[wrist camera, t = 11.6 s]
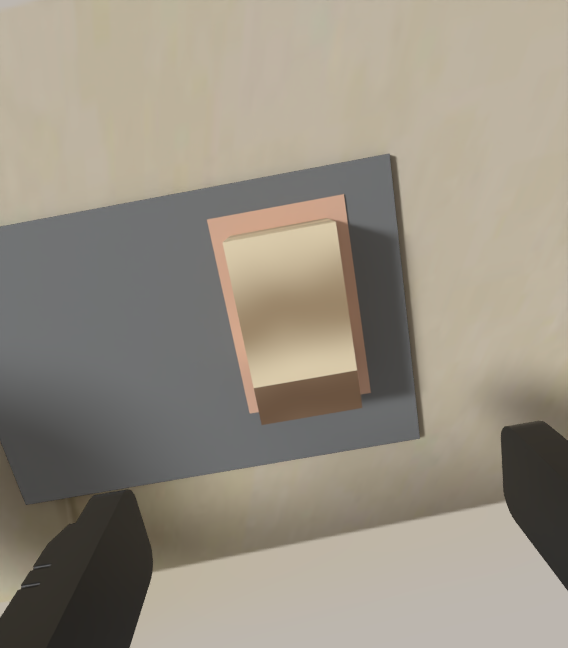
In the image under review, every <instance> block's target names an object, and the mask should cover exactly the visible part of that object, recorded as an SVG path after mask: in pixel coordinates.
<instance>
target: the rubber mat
mask: <svg viewBox="0 0 568 648" xmlns="http://www.w3.org/2000/svg"><path fill="white" fill-rule="evenodd" d="M323 218H328V219H331V220H333V221H335V222H336V227H337V234H338V241H339V248H340V255H341V262H342V269H343V276H344V283H345V289H346V296H347V303H348V310H349V317H350V324H351V331H352V338H353V345H354V352H355V359H356V366H357V373H358V380H359V387H360V394H361V401H362V408H359V409H353V410H348V411H342V412H336V413H330V414H324V415H318V416H313V417H307V418H301V419H295V420H289V421H283V422H277V423H272V424H266V425H261V420H260V415H259V411H258V406H257V401H256V397H255V392H254V387H253V383H252V378H251V373H250V369H249V364H248V359H247V355H246V350H245V345H244V341H243V336H242V331H241V327H240V322H239V317H238V313H237V308H236V304H235V299H234V294H233V290H232V285H231V280H230V276H229V271H228V266H227V262H226V257H225V252H224V248H223V242H224V241H225V240H226V239H227V238H228V237H229V236H231V235H236V234H242V233H247V232H253V231H258V230H264V229H269V228H274V227H280V226H285V225H291V224H296V223H302V222H307V221H312V220H318V219H323ZM414 439H420V435H419V426H418V416H417V407H416V398H415V388H414V379H413V369H412V360H411V351H410V341H409V332H408V323H407V313H406V304H405V294H404V285H403V276H402V266H401V257H400V247H399V238H398V229H397V219H396V210H395V201H394V191H393V182H392V172H391V163H390V154H385V155H379V156H374V157H369V158H363V159H358V160H353V161H347V162H342V163H337V164H331V165H326V166H321V167H316V168H310V169H305V170H300V171H294V172H289V173H284V174H278V175H273V176H268V177H262V178H257V179H252V180H246V181H241V182H236V183H230V184H225V185H220V186H214V187H209V188H204V189H198V190H193V191H188V192H182V193H177V194H172V195H166V196H161V197H156V198H150V199H145V200H140V201H134V202H129V203H124V204H118V205H113V206H108V207H102V208H97V209H92V210H86V211H81V212H76V213H70V214H65V215H60V216H54V217H49V218H44V219H38V220H33V221H28V222H22V223H17V224H12V225H6V226H1V227H0V441H1V444H2V446H3V449H4V451H5V454H6V456H7V459H8V461H9V464H10V466H11V469H12V471H13V474H14V476H15V479H16V481H17V484H18V486H19V489H20V491H21V494H22V496H23V499H24V501H25V504H26V505H28V504H34V503H40V502H46V501H52V500H58V499H64V498H70V497H76V496H82V495H88V494H93V493H99V492H105V491H111V490H117V489H123V488H129V487H135V486H141V485H147V484H153V483H159V482H165V481H171V480H177V479H183V478H188V477H194V476H200V475H206V474H212V473H218V472H224V471H230V470H236V469H242V468H248V467H254V466H260V465H266V464H272V463H277V462H283V461H289V460H295V459H301V458H307V457H313V456H319V455H325V454H331V453H337V452H343V451H349V450H355V449H361V448H366V447H372V446H378V445H384V444H390V443H396V442H402V441H408V440H414Z"/></svg>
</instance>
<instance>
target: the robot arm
mask: <svg viewBox="0 0 568 648" xmlns="http://www.w3.org/2000/svg"><path fill="white" fill-rule="evenodd" d="M501 449H502V470H503V490H504V496H505V500H506V503H507V506H508V508H509V511H510V513H511V514H512V517H513V518H514V520H515V521H516V523H517V524H518V525H519V526H520V528H521V529H522V531H523V532H524V533H525V534H526V536H527V537H528V539H529V540H530V541H531V543H533V545H534V547H535V548H536V549H537V551H538V552H539V553H540V555H541V556H542V557H543V558H544V560H545V561H546V562H547V563H548V565H549V566H550V568H551V569H552V570H553V572H554V573H555V574H556V576H557V577H558V578H559V580H560V581H561V582H562V584H563V585H564V586H565V588H566V589H567V590H568V441H567V440H566V439H565V438H564V437H563V436H561V435H560V434H559V433H558V432H557V431H555V430H554V429H553V428H552V427H550V426H549V425H548V424H547V423H545V422H543V421H535V422H529V423H523V424H517V425H511V426H506V427H504V428H503V429H502V432H501ZM33 567H34V569H33V570H32V571H30V572H29V574H28V575H27V577H26V578H25V580H24V582H23V583H22V585H21V586H22V587H21V590H18V591H17V592H16V594H15V596H14V597H13V599H12V600H11V602H10V604H9V605H8V606H7V608H6V610H5V611H4V613H3V614H2V616H1V617H0V648H129V647H130V644H131V641H132V638H133V634H134V631H135V628H136V625H137V622H138V619H139V615H140V612H141V609H142V606H143V603H144V600H145V596H146V593H147V590H148V587H149V584H150V580H151V576H152V568H153V558H152V550H151V546H150V542H149V539H148V536H147V533H146V529H145V526H144V523H143V520H142V517H141V513H140V510H139V507H138V504H137V501H136V498H135V495H134V493H133V492H132V491H131V490H122V491H116V492H110V493H105V494H99V495H94V496H93V497H91V499H90V500H89V502H88V503H87V505H86V507H85V508H84V510H83V512H82V513H81V515H80V517H79V518H78V520H77V522H76V523H73V524H69V525H68V526H67V527H65V528H64V529H63V530H62V531H61V532H60V533H59V534H58V535H57V536H56V537H55V538H54V539H53V540H52V541H50V542H49V543H48V544H47V546H46V547H45V549H44V550H43V552H42V554H41V555H40V557H39V558H38V560H37V561H36V563H35V564H34V566H33Z"/></svg>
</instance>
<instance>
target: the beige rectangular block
mask: <svg viewBox="0 0 568 648" xmlns="http://www.w3.org/2000/svg"><path fill="white" fill-rule="evenodd" d="M223 248H224V252H225V257H226V262H227V266H228V271H229V276H230V280H231V285H232V290H233V294H234V299H235V304H236V308H237V313H238V317H239V322H240V327H241V331H242V336H243V341H244V345H245V350H246V355H247V359H248V364H249V369H250V373H251V378H252V383H253V387H254V392H255V397H256V401H257V406H258V411H259V415H260V420H261V425H266V424H272V423H277V422H283V421H289V420H295V419H301V418H307V417H313V416H318V415H324V414H330V413H336V412H342V411H348V410H353V409H359V408H362V401H361V394H360V387H359V380H358V373H357V366H356V359H355V352H354V345H353V338H352V331H351V324H350V317H349V310H348V303H347V296H346V289H345V283H344V276H343V269H342V262H341V255H340V248H339V241H338V234H337V227H336V222H335V221H333V220H331V219H328V218H323V219H318V220H312V221H307V222H302V223H296V224H291V225H285V226H280V227H274V228H269V229H264V230H258V231H253V232H247V233H242V234H236V235H231V236H229V237H228V238H227V239H226V240H225V241H224V242H223Z"/></svg>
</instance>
